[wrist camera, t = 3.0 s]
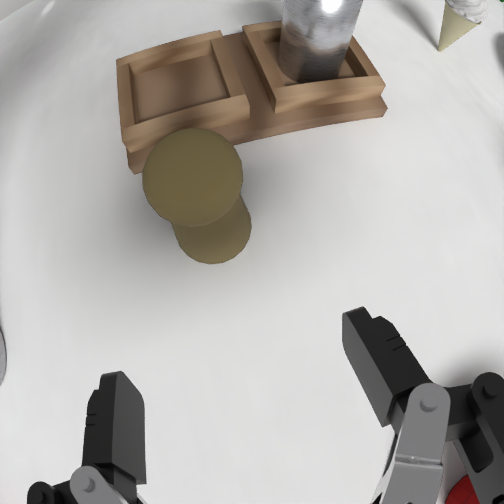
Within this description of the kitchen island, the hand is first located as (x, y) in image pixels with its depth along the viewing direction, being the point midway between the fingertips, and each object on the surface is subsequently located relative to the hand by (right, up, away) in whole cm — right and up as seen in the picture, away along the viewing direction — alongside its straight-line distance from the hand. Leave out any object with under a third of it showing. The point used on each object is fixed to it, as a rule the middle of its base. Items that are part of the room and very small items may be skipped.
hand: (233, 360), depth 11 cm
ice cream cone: (+25, +30, +20) cm, 43 cm away
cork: (-2, +6, +15) cm, 16 cm away
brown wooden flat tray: (0, +20, +17) cm, 26 cm away
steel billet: (+6, +22, +16) cm, 28 cm away
